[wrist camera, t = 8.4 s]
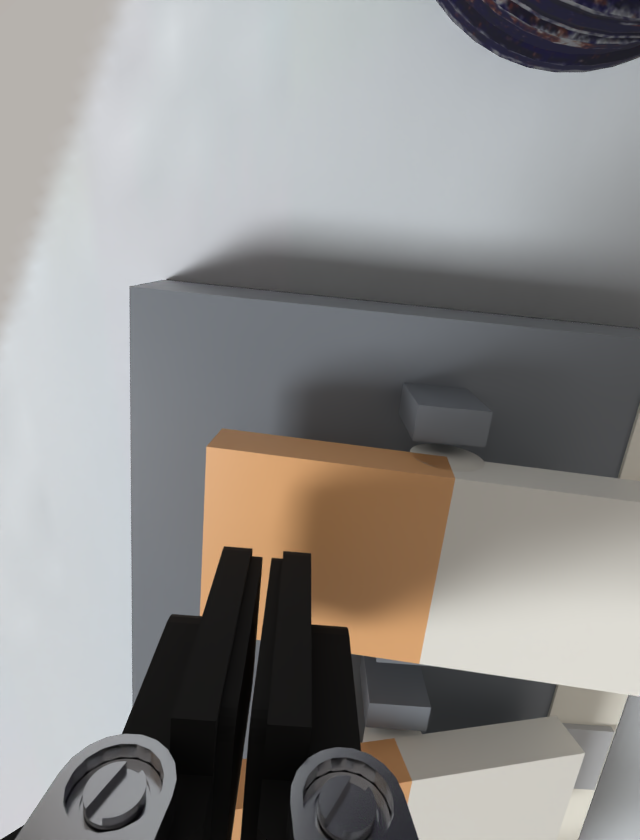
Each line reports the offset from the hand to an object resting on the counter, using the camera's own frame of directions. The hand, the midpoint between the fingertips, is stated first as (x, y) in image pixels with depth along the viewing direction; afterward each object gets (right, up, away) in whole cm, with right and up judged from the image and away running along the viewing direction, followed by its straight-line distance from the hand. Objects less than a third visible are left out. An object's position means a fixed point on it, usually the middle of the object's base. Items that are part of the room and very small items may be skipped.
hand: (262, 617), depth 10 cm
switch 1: (+4, +1, +2) cm, 4 cm away
